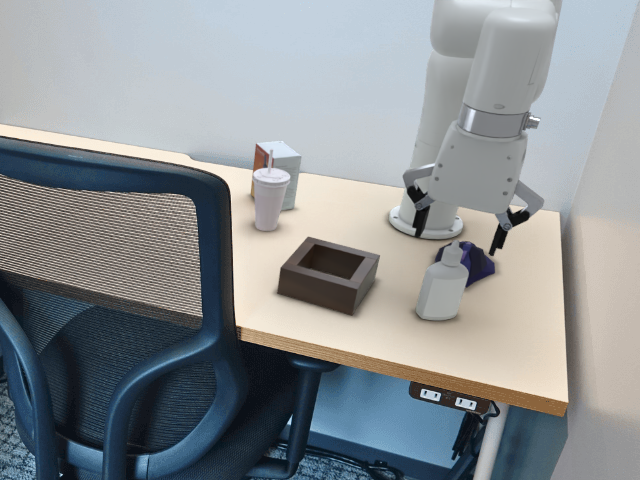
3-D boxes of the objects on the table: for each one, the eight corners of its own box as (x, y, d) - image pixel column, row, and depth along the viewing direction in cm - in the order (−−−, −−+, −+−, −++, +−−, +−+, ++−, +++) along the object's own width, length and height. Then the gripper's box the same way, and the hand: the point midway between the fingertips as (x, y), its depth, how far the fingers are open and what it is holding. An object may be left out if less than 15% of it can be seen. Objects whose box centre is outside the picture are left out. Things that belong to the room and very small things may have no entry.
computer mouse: (501, 256, 115) (508, 235, 112) (485, 297, 104) (493, 274, 102) (443, 242, 118) (449, 221, 116) (422, 280, 108) (428, 258, 106)
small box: (249, 195, 133) (254, 142, 127) (276, 192, 135) (282, 139, 129) (267, 212, 127) (273, 158, 121) (294, 209, 129) (302, 154, 123)
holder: (304, 260, 113) (307, 236, 110) (374, 280, 108) (380, 254, 105) (276, 293, 104) (280, 267, 102) (352, 315, 100) (357, 289, 97)
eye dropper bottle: (454, 326, 98) (478, 252, 91) (413, 317, 99) (433, 243, 93) (456, 311, 101) (479, 237, 94) (416, 302, 103) (436, 230, 96)
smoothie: (260, 214, 126) (268, 140, 118) (290, 225, 123) (301, 149, 115) (240, 227, 122) (247, 150, 114) (271, 238, 119) (281, 160, 111)
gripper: (572, 123, 83) (526, 247, 93) (426, 98, 90) (398, 216, 100) (566, 143, 78) (519, 272, 88) (411, 115, 85) (384, 238, 95)
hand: (455, 242), depth 94 cm, fingers open, 9 cm apart
